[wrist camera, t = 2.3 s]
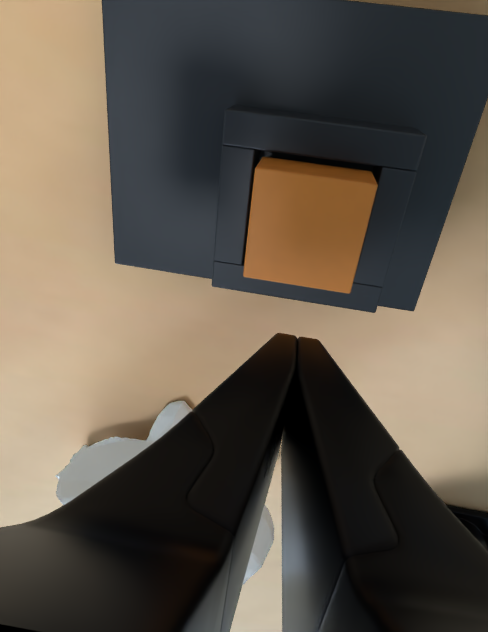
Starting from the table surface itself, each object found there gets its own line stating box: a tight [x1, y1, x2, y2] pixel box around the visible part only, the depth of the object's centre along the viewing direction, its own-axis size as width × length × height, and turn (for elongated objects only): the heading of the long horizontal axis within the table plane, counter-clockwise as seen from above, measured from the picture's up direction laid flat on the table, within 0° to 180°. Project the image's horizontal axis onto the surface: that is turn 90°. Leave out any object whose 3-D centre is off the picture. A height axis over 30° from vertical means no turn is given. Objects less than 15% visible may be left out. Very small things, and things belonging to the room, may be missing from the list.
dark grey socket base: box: [102, 0, 488, 313], centre depth 18 cm, size 14×11×4 cm
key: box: [243, 157, 378, 294], centre depth 16 cm, size 4×4×2 cm
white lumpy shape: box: [56, 401, 274, 584], centre depth 27 cm, size 9×8×15 cm
